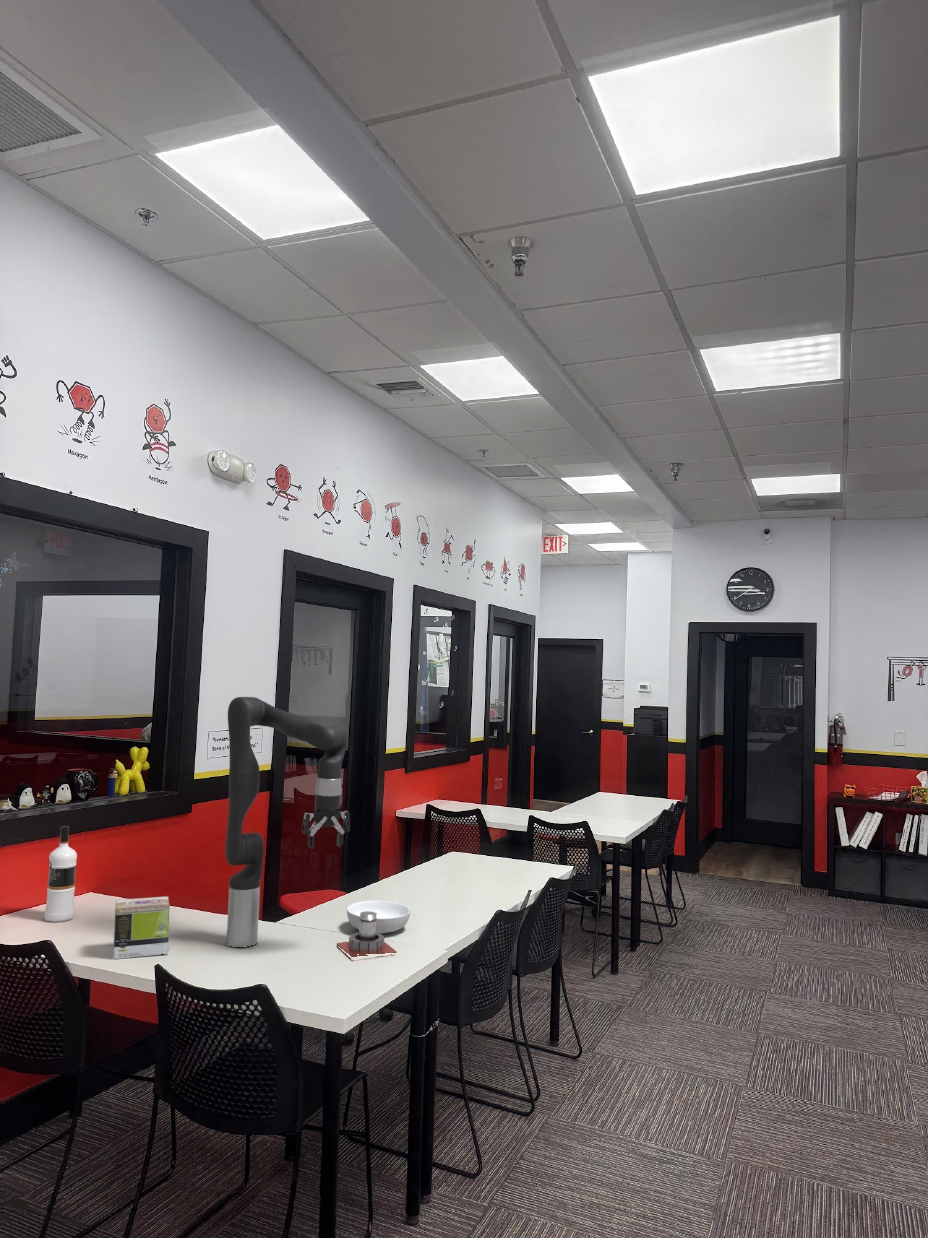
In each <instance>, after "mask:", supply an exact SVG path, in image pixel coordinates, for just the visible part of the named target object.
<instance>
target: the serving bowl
mask: <svg viewBox="0 0 928 1238" xmlns="http://www.w3.org/2000/svg"><path fill="white" fill-rule="evenodd" d="M366 911H370V912H375V913H376V914H377V916H376V918H377V919H376V933H379V934H382V935H385V934H387V933H393V932H396V931H399V930H400V929H402V928H403V927H405V926H406V924H407V923H408V921H409V919H410V916H411V908H410V907H409V906H408V905H406V904H404V903H401V902H396V901H391V900H379V899H378V900H377V899H376V900H375V899H374V900H363V901H359V902H354V903H351V904H350V905H348V906H347V908H346V914H347V915H346V916H347V919H348V920H349V922H350V924H351V926H353V927H354V928H356V929H357V930H359V924H360V913H361V912H366Z"/></svg>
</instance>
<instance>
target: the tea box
mask: <svg viewBox="0 0 928 1238" xmlns="http://www.w3.org/2000/svg"><path fill="white" fill-rule="evenodd" d="M169 900H170V899H169V895H165V896H164V895H163V896H155V897H154V896H153V897H151V896H150V897H140V898H129V899H116V900H115V909H114V930H113V933H114V934H113V959H114V960H117V959H118V960H119V959H128V958H129V959H130V958H139V957H140V958H141V957H149V956H150V957H151V956H160V955H161V954H164V955H168V954H169V941H170V939H169V937H170V936H169V935H170V934H169V933H170V927H169V926H170V901H169ZM161 956H162V955H161Z"/></svg>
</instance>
